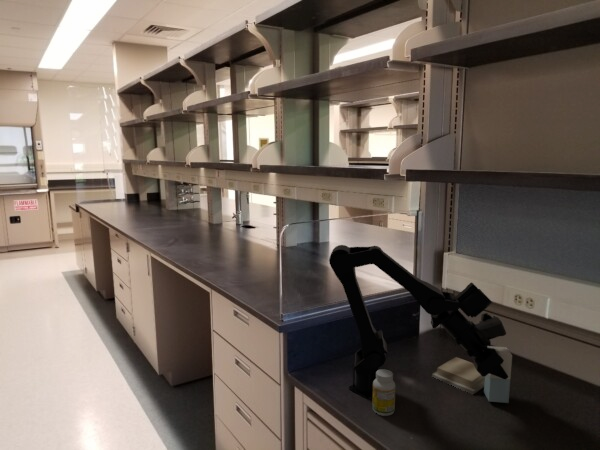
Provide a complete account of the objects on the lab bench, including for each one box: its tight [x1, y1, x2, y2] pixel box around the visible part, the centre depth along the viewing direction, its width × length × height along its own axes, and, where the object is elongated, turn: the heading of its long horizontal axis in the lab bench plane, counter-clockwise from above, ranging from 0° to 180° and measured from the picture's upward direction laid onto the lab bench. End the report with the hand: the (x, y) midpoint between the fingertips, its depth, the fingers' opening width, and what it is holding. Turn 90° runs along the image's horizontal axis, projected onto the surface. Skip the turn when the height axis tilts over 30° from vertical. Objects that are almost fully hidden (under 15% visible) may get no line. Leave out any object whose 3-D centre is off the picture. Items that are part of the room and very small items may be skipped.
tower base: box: [431, 356, 485, 396], centre depth 119 cm, size 12×12×3 cm
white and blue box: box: [483, 345, 513, 404], centre depth 108 cm, size 5×5×12 cm
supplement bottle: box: [371, 368, 396, 417], centre depth 104 cm, size 5×5×10 cm
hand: (503, 373), depth 107 cm, fingers closed on white and blue box, 5 cm apart
